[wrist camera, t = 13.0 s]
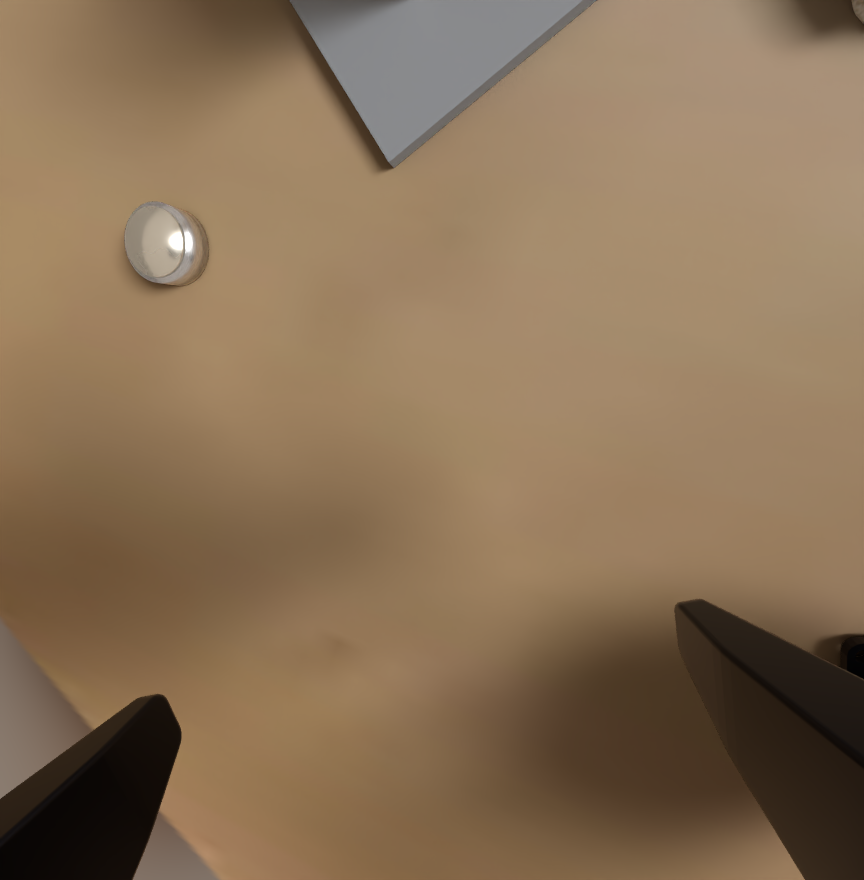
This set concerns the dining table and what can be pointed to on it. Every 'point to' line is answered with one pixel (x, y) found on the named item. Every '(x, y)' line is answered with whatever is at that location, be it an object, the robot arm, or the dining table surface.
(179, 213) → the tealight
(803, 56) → the dining table surface
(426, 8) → the mat
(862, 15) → the washcloth
